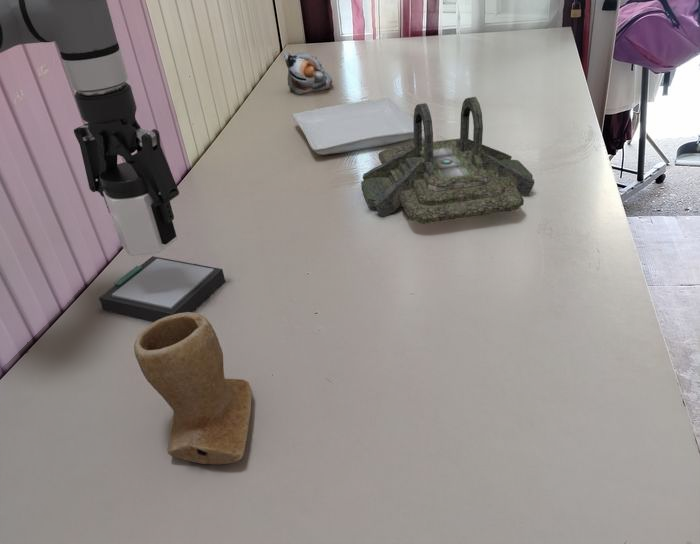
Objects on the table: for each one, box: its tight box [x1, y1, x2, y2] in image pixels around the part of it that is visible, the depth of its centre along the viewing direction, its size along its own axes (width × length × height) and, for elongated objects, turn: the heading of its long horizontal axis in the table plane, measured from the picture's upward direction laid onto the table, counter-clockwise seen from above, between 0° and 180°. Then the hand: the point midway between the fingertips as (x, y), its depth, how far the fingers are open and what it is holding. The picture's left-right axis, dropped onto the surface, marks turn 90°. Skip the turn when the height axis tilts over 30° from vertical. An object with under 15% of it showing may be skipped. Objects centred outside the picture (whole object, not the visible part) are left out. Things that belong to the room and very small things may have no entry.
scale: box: [98, 255, 226, 323], centre depth 106 cm, size 15×14×3 cm
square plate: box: [291, 97, 424, 155], centre depth 159 cm, size 27×27×4 cm
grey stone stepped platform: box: [360, 96, 535, 225], centre depth 125 cm, size 35×34×18 cm
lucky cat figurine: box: [283, 52, 333, 95], centre depth 189 cm, size 15×12×14 cm
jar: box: [100, 161, 178, 257], centre depth 97 cm, size 9×8×12 cm
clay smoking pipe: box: [133, 311, 253, 465], centre depth 77 cm, size 15×12×15 cm
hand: (147, 236), depth 100 cm, fingers closed on jar, 8 cm apart
